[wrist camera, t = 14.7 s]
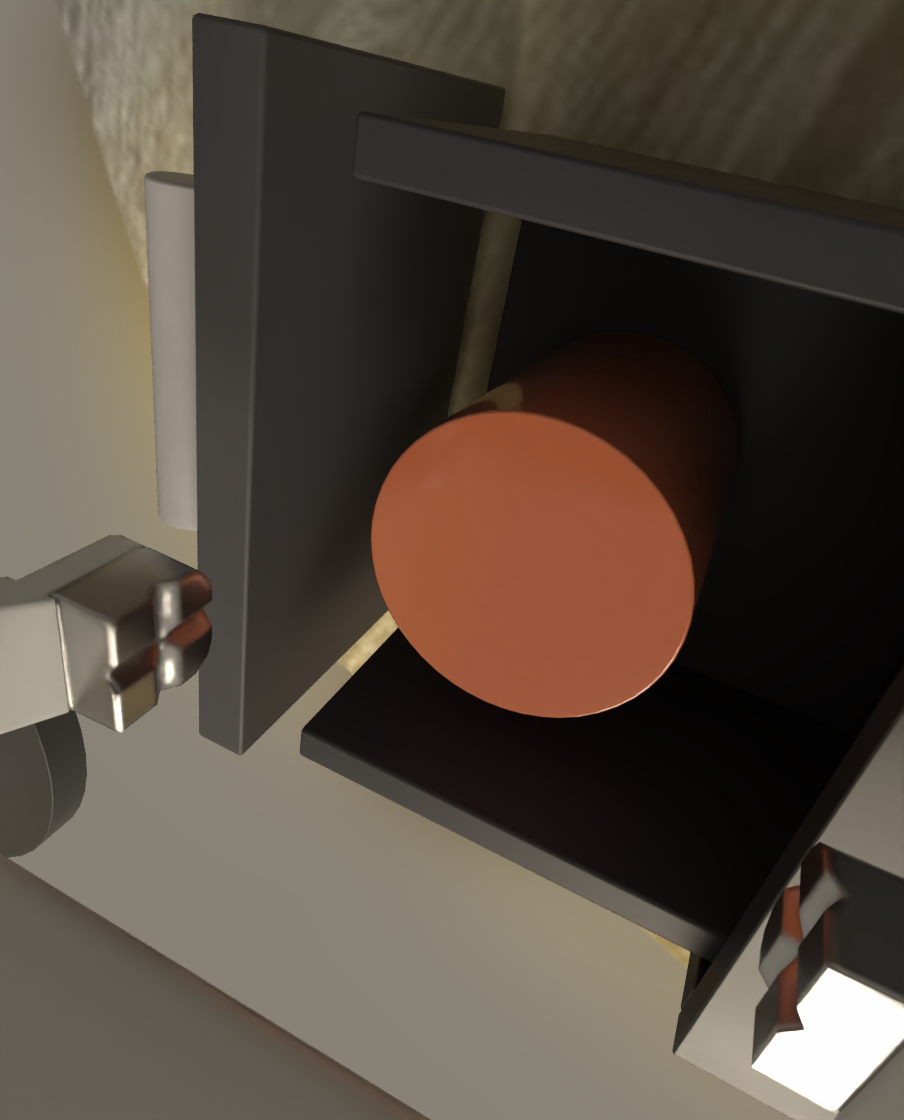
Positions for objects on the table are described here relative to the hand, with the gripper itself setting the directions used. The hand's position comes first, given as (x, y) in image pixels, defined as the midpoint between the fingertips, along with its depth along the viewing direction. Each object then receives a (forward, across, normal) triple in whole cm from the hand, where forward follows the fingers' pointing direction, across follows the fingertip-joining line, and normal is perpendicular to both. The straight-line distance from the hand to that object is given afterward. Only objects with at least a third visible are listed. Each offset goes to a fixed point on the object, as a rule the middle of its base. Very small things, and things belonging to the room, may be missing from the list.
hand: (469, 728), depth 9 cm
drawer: (+12, +2, 0) cm, 12 cm away
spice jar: (+10, +1, 0) cm, 10 cm away
